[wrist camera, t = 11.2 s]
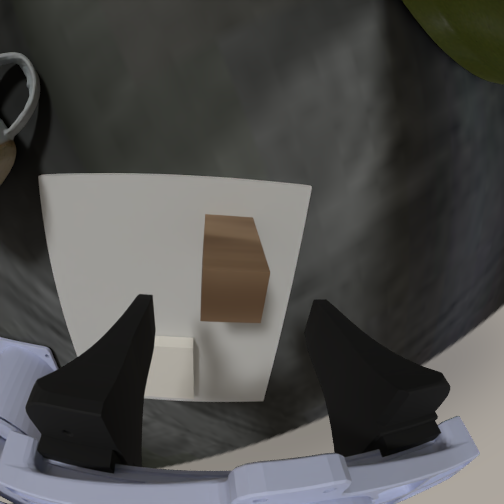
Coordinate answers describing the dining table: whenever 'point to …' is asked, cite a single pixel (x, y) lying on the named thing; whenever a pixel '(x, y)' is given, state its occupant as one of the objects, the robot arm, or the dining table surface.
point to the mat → (170, 264)
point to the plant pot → (466, 32)
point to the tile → (171, 368)
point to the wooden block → (232, 271)
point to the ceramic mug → (3, 147)
